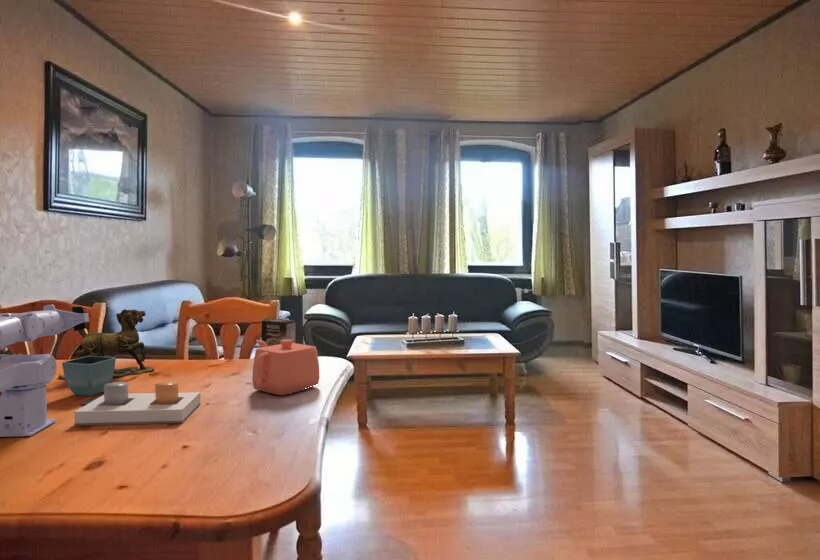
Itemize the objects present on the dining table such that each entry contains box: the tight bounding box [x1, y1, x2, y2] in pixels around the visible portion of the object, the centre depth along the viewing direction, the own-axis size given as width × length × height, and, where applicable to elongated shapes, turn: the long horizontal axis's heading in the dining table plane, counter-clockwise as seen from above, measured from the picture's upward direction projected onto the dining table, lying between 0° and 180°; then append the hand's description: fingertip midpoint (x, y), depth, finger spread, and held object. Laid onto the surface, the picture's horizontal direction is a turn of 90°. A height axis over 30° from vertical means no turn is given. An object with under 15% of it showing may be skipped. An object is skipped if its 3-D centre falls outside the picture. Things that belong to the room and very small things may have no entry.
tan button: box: [154, 380, 179, 404], centre depth 118 cm, size 5×5×4 cm
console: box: [73, 391, 201, 427], centre depth 117 cm, size 14×22×3 cm, turn 97°
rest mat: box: [80, 396, 100, 407], centre depth 127 cm, size 6×6×1 cm
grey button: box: [103, 381, 129, 405], centre depth 117 cm, size 5×5×4 cm
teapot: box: [251, 339, 320, 396], centre depth 142 cm, size 20×19×14 cm
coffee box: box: [261, 318, 297, 346], centre depth 164 cm, size 9×6×16 cm
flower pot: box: [61, 356, 117, 397], centre depth 134 cm, size 9×9×9 cm
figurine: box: [58, 308, 155, 380], centre depth 155 cm, size 13×25×20 cm, turn 118°
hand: (70, 319), depth 126 cm, fingers open, 7 cm apart
